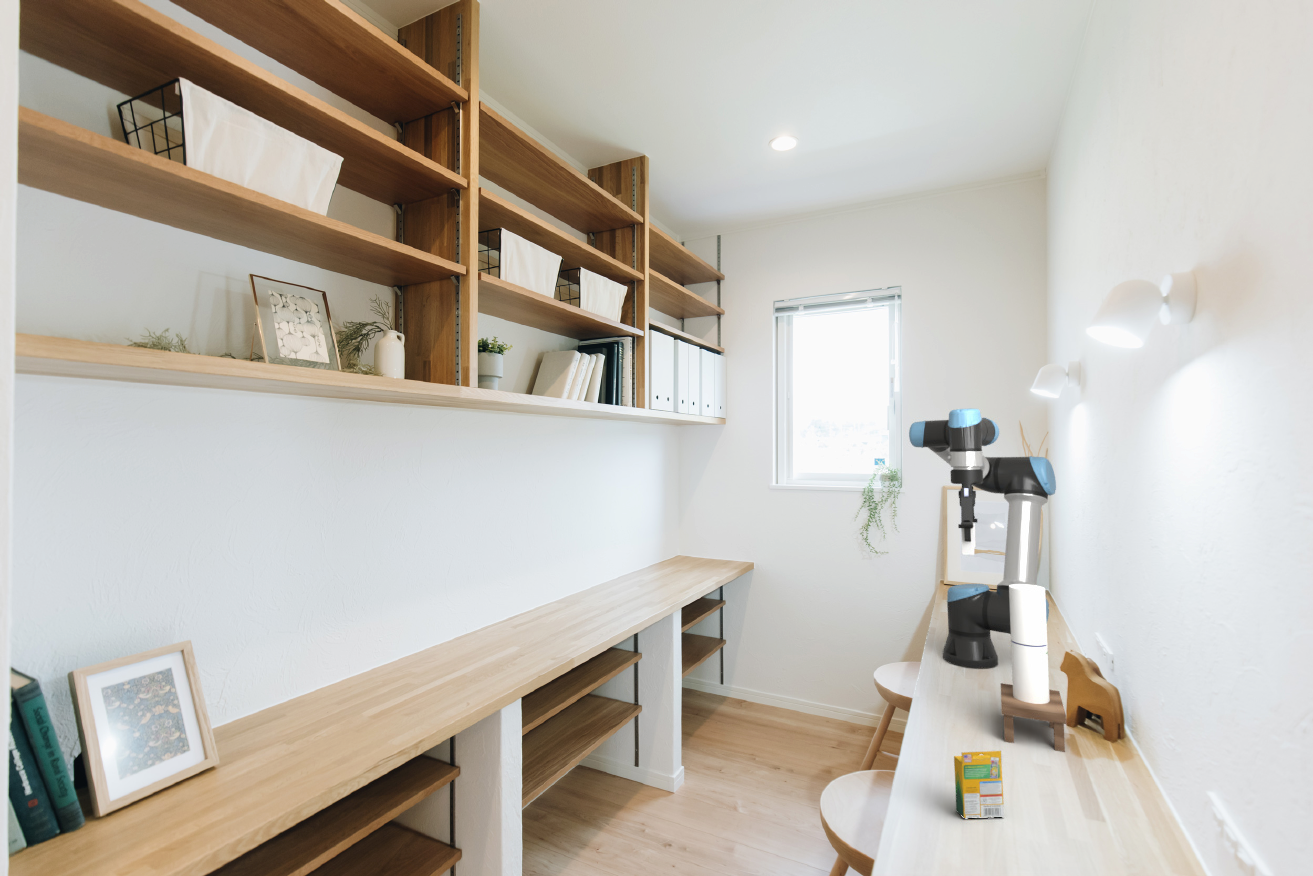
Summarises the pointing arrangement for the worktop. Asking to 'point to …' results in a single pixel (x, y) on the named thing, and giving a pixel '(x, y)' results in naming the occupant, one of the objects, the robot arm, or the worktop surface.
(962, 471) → the robot arm
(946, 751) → the worktop surface
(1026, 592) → the cylindrical container
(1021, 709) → the brown flat-topped stand
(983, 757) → the crayon box
